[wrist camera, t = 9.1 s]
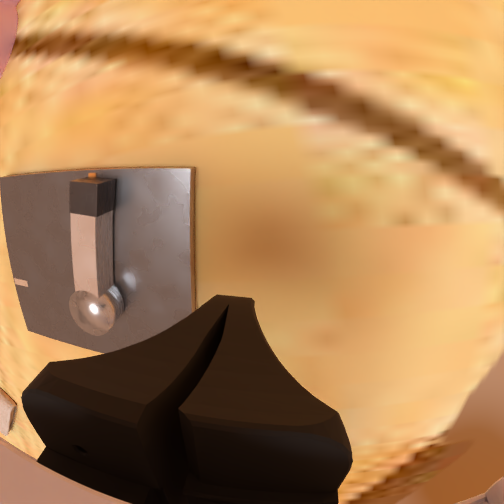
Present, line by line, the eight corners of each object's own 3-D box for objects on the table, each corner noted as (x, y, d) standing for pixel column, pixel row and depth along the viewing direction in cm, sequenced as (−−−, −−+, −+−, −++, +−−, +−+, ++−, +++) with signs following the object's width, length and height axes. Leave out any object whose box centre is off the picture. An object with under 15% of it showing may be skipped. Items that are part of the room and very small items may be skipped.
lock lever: (125, 325, 21) (112, 341, 19) (87, 313, 22) (72, 327, 19) (125, 180, 18) (107, 184, 16) (81, 175, 18) (61, 180, 16)
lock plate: (198, 363, 23) (195, 372, 22) (33, 325, 25) (27, 330, 24) (195, 167, 18) (190, 168, 17) (7, 175, 20) (-2, 177, 19)
